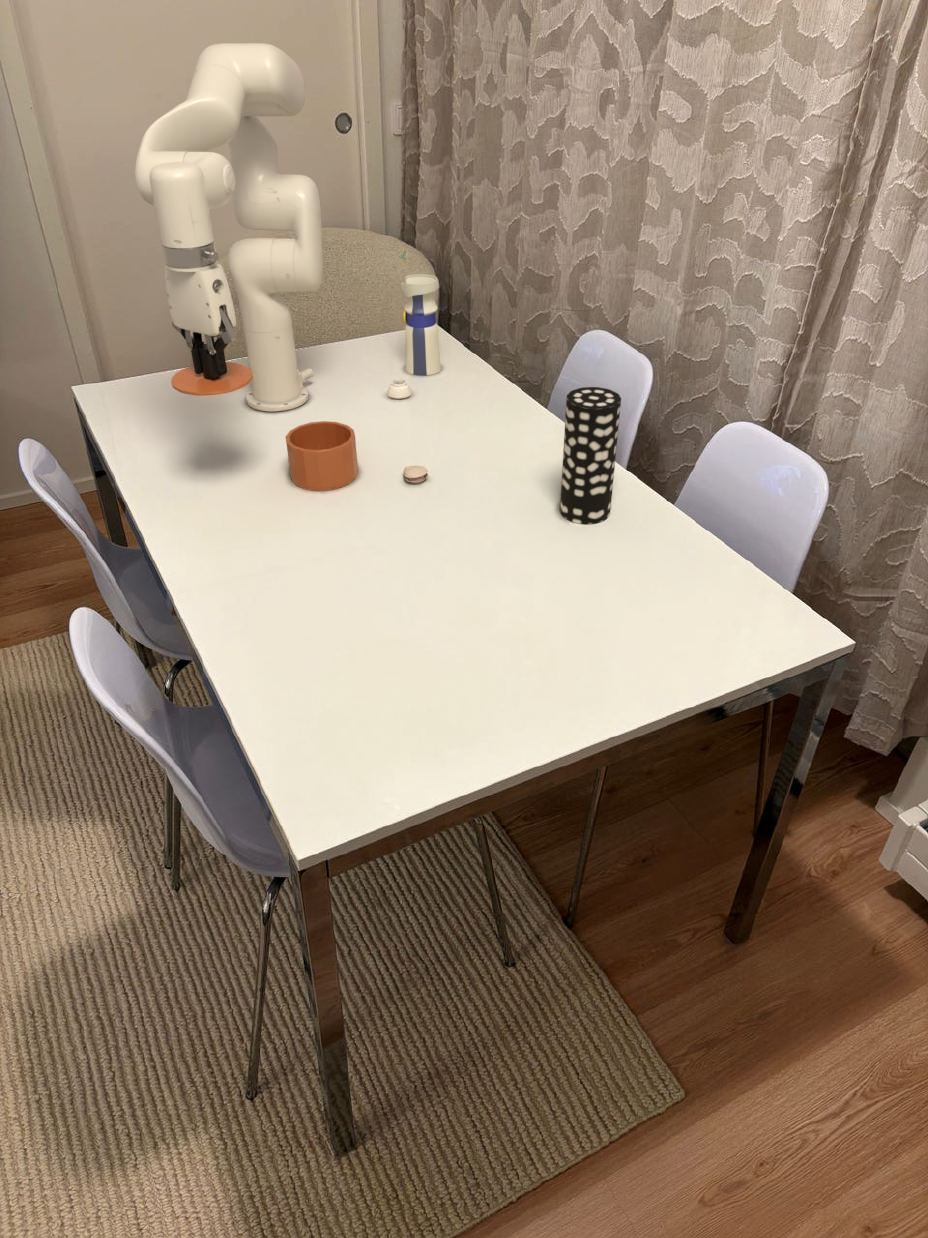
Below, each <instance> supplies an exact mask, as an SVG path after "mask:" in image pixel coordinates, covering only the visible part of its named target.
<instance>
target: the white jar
mask: <svg viewBox="0 0 928 1238" xmlns="http://www.w3.org/2000/svg"><path fill="white" fill-rule="evenodd" d="M386 394H387V396H388V397H389V398H392V399H396V400H400V399H401V400H402V399H406V398H408V397H411V396H412V394H413V391H412V389H411V387H410V385H409V383H408V382H407V380H405V379H404V378H395V379H392V380H391V383H390V384H389V386H388V388H387V391H386Z"/></svg>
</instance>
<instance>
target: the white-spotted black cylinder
mask: <svg viewBox="0 0 928 1238" xmlns="http://www.w3.org/2000/svg"><path fill="white" fill-rule="evenodd" d="M621 405H622V397H621V395H620V394H619V393H618V392H616V391H614V390H612V389H610V388H605V387H601V386H600V387H599V386H585V387H579V388H575V389H573V390H571V391H569V392H568V393H567V395H566V402H565V415H564V416H565V419H564V432H563V433H564V434H563V435H564V436H563V451H562V467H561V468H562V470H561V482H560V483H561V486H560V500H559V513H560V515H561V517H563V518H564V519H565V520H567V521H569V522H572V523H575V524H579V525H594V524H599V523H602V522H604V521H606V520H607V519H608V518H609V517H610V515H611V509H612V498H613V488H614V478H615V477H614V476H615V468H616V458H617V457H616V456H617V447H618V437H619V427H620V426H619V425H620V418H621V417H620V415H621V407H622V406H621Z"/></svg>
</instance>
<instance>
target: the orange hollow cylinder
mask: <svg viewBox="0 0 928 1238" xmlns="http://www.w3.org/2000/svg"><path fill="white" fill-rule="evenodd" d="M356 441H357V440H356V434H355V430H354V429H353V428H352V427H351V426H349V425H348V424H344V423H341V422H337V421H327V420H322V421H312V422H307V423H304V424H300V425H297V426H296V427H294V428H292V429H290V430H289V431H288V433H287V434H286V435H285V443H286V451H287V459H288V464H289V472H290V479H291V481H292V483H293V484H294V485H296V487H299V488H301V489H304V490H309V491H313V492H314V491H315V492H316V491H317V492H320V491H321V492H324V491H325V492H326V491H332V490H337V489H341V488H344V487H346V486H348V485H350V484H351V483H352V482H353V483H354V481H355V480H356V479H357V477H358V474H359V466H358V465H359V464H358V454H357V453H358V452H357V442H356Z"/></svg>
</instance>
